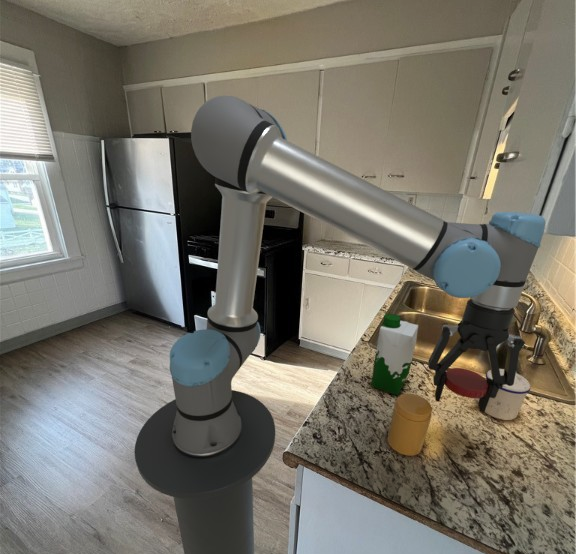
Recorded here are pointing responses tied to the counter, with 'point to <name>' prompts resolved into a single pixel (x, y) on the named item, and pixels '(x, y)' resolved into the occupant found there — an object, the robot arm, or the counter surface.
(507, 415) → the teacup with lid
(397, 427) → the jam jar
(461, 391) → the jam lid
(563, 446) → the counter surface
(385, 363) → the milk carton
